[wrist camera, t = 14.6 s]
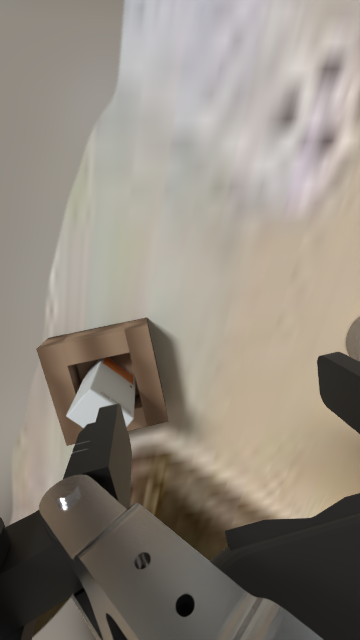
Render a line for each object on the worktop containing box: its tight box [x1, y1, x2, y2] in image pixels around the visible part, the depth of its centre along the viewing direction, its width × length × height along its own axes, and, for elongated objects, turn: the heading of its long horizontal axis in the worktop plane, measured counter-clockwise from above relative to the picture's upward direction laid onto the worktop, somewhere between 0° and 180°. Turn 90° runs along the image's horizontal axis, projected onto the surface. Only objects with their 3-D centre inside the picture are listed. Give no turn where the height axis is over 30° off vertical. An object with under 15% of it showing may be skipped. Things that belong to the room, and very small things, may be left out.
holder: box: [37, 318, 168, 446], centre depth 42 cm, size 14×14×5 cm
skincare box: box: [66, 357, 136, 428], centre depth 37 cm, size 6×4×12 cm
